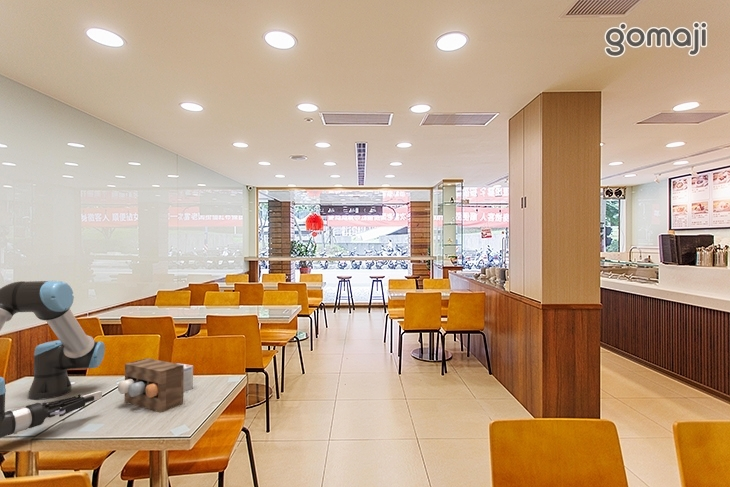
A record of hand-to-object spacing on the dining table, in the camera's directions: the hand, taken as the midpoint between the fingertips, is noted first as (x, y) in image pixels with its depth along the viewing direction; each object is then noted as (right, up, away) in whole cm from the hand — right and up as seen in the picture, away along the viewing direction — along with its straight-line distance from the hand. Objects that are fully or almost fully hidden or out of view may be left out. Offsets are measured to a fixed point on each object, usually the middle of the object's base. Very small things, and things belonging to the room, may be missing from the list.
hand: (100, 394), depth 151 cm
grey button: (+12, -3, +8) cm, 14 cm away
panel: (+14, -8, +12) cm, 20 cm away
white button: (+6, -3, +11) cm, 12 cm away
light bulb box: (+17, -9, +29) cm, 34 cm away
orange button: (+19, -3, +7) cm, 20 cm away
